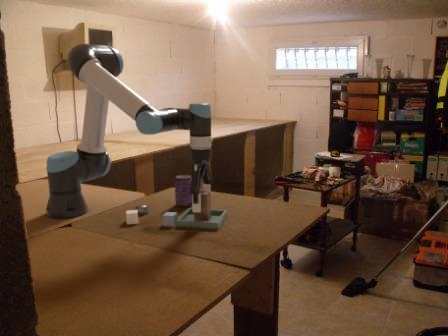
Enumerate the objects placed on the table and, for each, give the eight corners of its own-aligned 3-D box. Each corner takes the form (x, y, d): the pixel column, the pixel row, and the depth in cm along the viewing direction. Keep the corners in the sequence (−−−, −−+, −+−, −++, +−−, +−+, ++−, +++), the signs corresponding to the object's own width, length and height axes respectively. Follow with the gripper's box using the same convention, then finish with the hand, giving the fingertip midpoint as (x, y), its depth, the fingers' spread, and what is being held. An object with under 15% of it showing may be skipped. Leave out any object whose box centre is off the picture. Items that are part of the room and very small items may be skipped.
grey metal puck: (133, 214, 166) (132, 207, 165) (138, 211, 171) (138, 203, 170) (145, 215, 165) (145, 207, 164) (150, 211, 170) (150, 204, 169)
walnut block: (194, 221, 154) (193, 194, 152) (197, 216, 159) (197, 190, 157) (207, 221, 153) (207, 194, 151) (211, 217, 158) (210, 191, 156)
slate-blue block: (163, 226, 152) (162, 215, 152) (167, 222, 156) (166, 211, 155) (174, 226, 152) (173, 215, 151) (177, 223, 155) (177, 212, 155)
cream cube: (126, 224, 155) (126, 213, 154) (126, 221, 159) (126, 210, 158) (138, 223, 155) (137, 212, 155) (138, 220, 159) (137, 209, 159)
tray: (176, 227, 151) (176, 220, 150) (189, 214, 165) (188, 208, 165) (218, 229, 148) (218, 223, 147) (227, 216, 162) (227, 210, 161)
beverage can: (184, 201, 182) (183, 173, 180) (196, 204, 178) (195, 176, 175) (172, 205, 177) (170, 176, 174) (184, 208, 172) (183, 179, 170)
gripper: (201, 154, 138) (202, 217, 143) (219, 142, 162) (219, 197, 166) (179, 153, 140) (181, 216, 144) (200, 142, 164) (201, 196, 168)
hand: (201, 206), depth 155 cm, fingers open, 13 cm apart
